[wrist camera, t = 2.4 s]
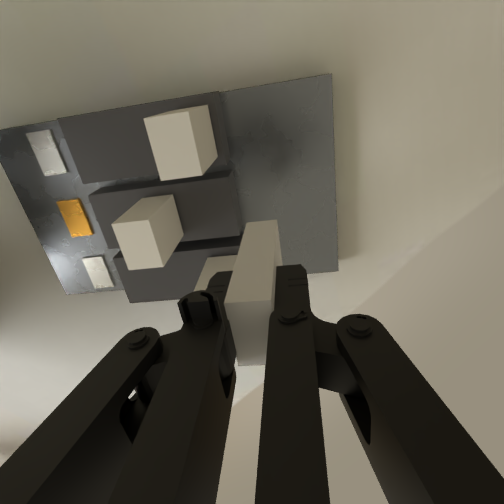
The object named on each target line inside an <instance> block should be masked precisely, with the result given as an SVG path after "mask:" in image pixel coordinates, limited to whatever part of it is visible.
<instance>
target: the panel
mask: <svg viewBox="0 0 504 504" xmlns="http://www.w3.org/2000/svg"><path fill="white" fill-rule="evenodd" d="M219 96H220V101H221V107H222V113H223V118H224V124H225V129H226V135H227V141H228V146H229V152H230V157H231V158H230V160H229V161H228V163H227V164H226V165H221V166H213V167H209V168H208V169H207V170H206V172H205V173H211V172H218V171H226V170H233V174H234V180H235V186H236V191H237V197H238V202H239V208H240V214H241V219H242V228H241V232H240V234H244V230H245V227H246V223H248V222H257V221H267V220H276V219H277V224H278V232H279V240H280V248H281V256H282V264H283V266H284V265H296V264H301V265H302V266H303V267H304V268H305V269H306V270H307V274H312V273H323V272H335V271H338V245H337V216H336V187H335V158H334V129H333V100H332V74H326V75H320V76H314V77H308V78H302V79H296V80H290V81H284V82H279V83H273V84H267V85H261V86H255V87H249V88H243V89H237V90H231V91H226V92H220V93H219ZM0 162H1V164H2V166H3V168H4V170H5V172H6V174H7V176H8V178H9V180H10V182H11V184H12V186H13V188H14V190H15V192H16V194H17V196H18V198H19V200H20V202H21V204H22V206H23V208H24V210H25V212H26V214H27V216H28V218H29V220H30V222H31V224H32V226H33V228H34V230H35V232H36V234H37V236H38V238H39V240H40V242H41V245H42V247H43V249H44V251H45V253H46V255H47V257H48V259H49V261H50V263H51V265H52V267H53V269H54V271H55V273H56V275H57V277H58V279H59V281H60V283H61V285H62V287H63V289H64V291H65V293H66V295H67V294H79V293H91V292H102V291H114V290H125V289H124V287H123V284H122V281H121V279H120V276H119V274H118V271H117V269H116V266H115V264H114V261H113V257H114V256H115V255H116V254H117V253H118V252H119V251H120V250H121V249H120V248H116V249H108V246H107V244H106V241H105V239H104V236H103V234H102V231H101V229H100V226H99V223H98V221H97V218H96V216H95V213H94V211H93V208H92V206H91V203H90V201H89V198H88V195H89V194H91V193H93V192H94V191H96V190H98V189H99V188H101V187H107V186H115V185H122V184H129V183H137V182H144V181H152V180H159V179H160V176H159V174H155V175H148V176H141V177H133V178H126V179H119V180H112V181H104V182H97V183H90V184H83V183H82V181H81V178H80V176H79V173H78V171H77V168H76V165H75V163H74V160H73V158H72V155H71V153H70V150H69V148H68V145H67V143H66V140H65V138H64V135H63V133H62V130H61V128H60V125H59V123H58V120H55V121H49V122H43V123H37V124H31V125H25V126H19V127H14V128H8V129H2V130H0Z"/></svg>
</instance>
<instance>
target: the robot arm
mask: <svg viewBox="0 0 504 504" xmlns="http://www.w3.org/2000/svg"><path fill="white" fill-rule="evenodd" d="M177 304H178V307H179V310H180V314H181V317H182V320H183V323H184V324H183V326H182V328H181V330H179V331H176V332H173V333H169V334H166V335H162V336H160V335H159V333H158V331H157V330H156V329H154V328H151V327H143V328H139V329H136V330H134V331H132V332H130V333H128V334H127V335H125V336H124V337H123V338H122V339H121V340H120V341H119V342H118V343H117V344H116V345H115V346H114V347H113V348H112V349H111V350H110V351H109V353H108V354H107V355H106V356H105V357H104V358H103V359H102V360H101V361H100V362H99V363H98V364H97V365H96V366H95V367H94V368H93V370H92V371H91V372H90V373H89V374H88V375H87V376H86V377H85V378H84V379H83V380H82V381H81V382H80V383H79V384H78V385H77V386H76V388H75V389H74V390H73V391H72V392H71V393H70V394H69V395H68V396H67V397H66V398H65V399H64V400H63V401H62V402H61V403H60V404H59V406H58V407H57V408H56V409H55V410H54V411H53V412H52V413H51V414H50V415H49V416H48V417H47V418H46V419H45V420H44V421H43V423H42V424H41V425H40V426H39V427H38V428H37V429H36V430H35V431H34V432H33V433H32V434H31V435H30V436H29V437H28V438H27V439H26V441H25V442H24V443H23V444H22V445H21V446H20V447H19V448H18V449H17V450H16V451H15V452H14V453H13V454H12V455H11V456H10V458H9V459H8V460H7V461H6V462H5V463H4V464H3V465H2V466H1V467H0V504H215V503H216V497H217V491H218V485H219V479H220V473H221V467H222V461H223V455H224V449H225V443H226V437H227V431H228V425H229V419H230V413H231V407H232V401H233V395H234V389H235V383H236V371H235V367H234V364H235V358H236V357H237V362H238V366H249V365H266V366H265V379H264V392H263V404H262V418H261V430H260V443H259V455H258V468H257V480H256V493H255V504H330V498H329V487H328V478H327V467H326V457H325V447H324V437H323V427H322V417H321V407H320V397H319V388H323V389H327V390H331V391H334V392H338V393H339V395H340V398H341V400H342V402H343V405H344V407H345V409H346V411H347V413H348V416H349V418H350V420H351V422H352V424H353V426H354V428H355V431H356V433H357V435H358V437H359V440H360V442H361V444H362V446H363V448H364V450H365V452H366V455H367V457H368V459H369V461H370V464H371V466H372V468H373V470H374V472H375V474H376V477H377V479H378V481H379V483H380V485H381V488H382V489H383V492H384V494H385V496H386V498H387V501H388V503H389V504H504V478H503V477H502V476H501V474H500V473H499V472H498V471H497V469H496V468H495V467H494V466H493V464H492V463H491V462H490V461H489V459H488V458H487V457H486V455H485V454H484V453H483V452H482V450H481V449H480V448H479V447H478V445H477V444H476V443H475V442H474V440H473V439H472V438H471V436H470V435H469V434H468V433H467V431H466V430H465V429H464V428H463V427H462V425H461V424H460V423H459V421H458V420H457V419H456V417H455V416H454V415H453V414H452V412H451V411H450V410H449V408H448V407H447V406H446V405H445V404H444V402H443V401H442V400H441V398H440V397H439V396H438V395H437V393H436V392H435V391H434V389H433V388H432V387H431V386H430V384H429V383H428V382H427V381H426V379H425V378H424V377H423V376H422V374H421V373H420V372H419V370H418V369H417V368H416V367H415V365H414V364H413V363H412V362H411V360H410V359H409V358H408V357H407V355H406V354H405V353H404V351H403V350H402V349H401V348H400V346H399V345H398V344H397V343H396V341H395V340H394V339H393V337H392V336H391V335H390V334H389V332H388V331H387V330H386V329H385V327H384V326H383V325H382V324H381V323H380V322H379V321H378V320H377V319H375V318H373V317H371V316H368V315H362V314H351V315H348V316H345V317H343V318H341V319H340V320H339V321H338V322H337V324H334V323H329V322H325V321H323V320H320V319H318V318H317V317H316V316H314V314H313V313H312V312H311V308H310V299H309V290H308V280H307V270H306V269H305V268H304V267H303V266H302V265H301V264H296V265H284V266H283V264H282V256H281V248H280V240H279V232H278V224H277V219H276V220H267V221H257V222H248V223H246V227H245V230H244V234H243V237H242V241H241V244H240V248H239V251H238V255H237V259H236V262H235V266H234V269H233V271H221V272H217V273H216V274H215V275H213V276H212V277H211V278H210V280H209V283H208V285H207V288H206V290H199V291H194V292H191V293H189V294H187V295H185V296H184V297H182V298H181V299H180V300H179V302H178V303H177ZM134 389H135V391H136V393H135V394H134V396H133V397H131V398H130V399H129V398H128V397H129V395H130V394H131V393H132V391H133V390H134Z"/></svg>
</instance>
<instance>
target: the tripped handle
mask: <svg viewBox="0 0 504 504" xmlns="http://www.w3.org/2000/svg"><path fill="white" fill-rule="evenodd" d="M111 225H112V227H113V230H114V233H115V235H116V238H117V241H118V243H119V246H120V249H121V251H122V254H123V257H124V259H125V262H126V264H127V267H128V270H137V269H148V268H158V267H164V266H165V264H166V262H167V261H168V259H169V258H170V256H171V254H172V253H173V251H174V250H175V248H176V246H177V245H178V243H179V242H180V240H181V239H182V237H183V235H184V233H183V230H182V226H181V222H180V219H179V215H178V211H177V208H176V204H175V200H174V197H173V194H171V195H163V196H155V197H147V198H142V199H140V200H139V201H138V202H137V203H136V204H134V205H133V206H132V207H131V208H130V209H129V210H127V211H126V212H125V213H124V214H123V215H122V216H120V217H119V218H118V219H117V220H116V221H114V222H113V223H112V224H111Z"/></svg>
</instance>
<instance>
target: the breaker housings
mask: <svg viewBox="0 0 504 504" xmlns="http://www.w3.org/2000/svg"><path fill="white" fill-rule="evenodd" d="M57 120H58V123H59V125H60V128H61V130H62V133H63V135H64V138H65V140H66V143H67V145H68V148H69V150H70V153H71V155H72V158H73V160H74V163H75V165H76V168H77V171H78V173H79V176H80V178H81V181H82V183H83V184H90V183H97V182H104V181H112V180H119V179H126V178H133V177H141V176H148V175H155V174H159V176H160V179H159V180H152V181H144V182H137V183H129V184H122V185H115V186H107V187H101V188H99V189H98V190H96V191H94V192H93V193H91V194H89V195H88V198H89V201H90V203H91V206H92V208H93V211H94V213H95V216H96V218H97V221H98V223H99V226H100V229H101V231H102V234H103V236H104V239H105V241H106V244H107V246H108V249H116V248H120V246H119V243H118V241H117V238H116V235H115V233H114V230H113V227H112V225H111V224H112V223H113V222H114V221H116V220H117V219H118V218H119V217H120V216H122V215H123V214H124V213H125V212H126V211H127V210H129V209H130V208H131V207H132V206H133V205H134V204H136V203H137V202H138V201H139V200H140V199H142V198H147V197H155V196H163V195H171V194H173V197H174V200H175V204H176V208H177V211H178V215H179V219H180V222H181V226H182V230H183V233H184V235H183V237H182V239H181V240H180V242H179V243H178V245H177V246H176V248H175V250H174V251H173V253H172V254H171V256H170V258H169V259H168V261H167V262H166V264H165V266H164V267H158V268H148V269H137V270H128V267H127V264H126V262H125V259H124V257H123V254H122V251H121V250H120V251H119V252H118V253H117V254H116V255H115V256H114V257H113V261H114V264H115V266H116V269H117V271H118V274H119V276H120V279H121V281H122V284H123V287H124V289H125V292H126V294H127V297H128V299H129V302H130V303H138V302H151V301H164V300H176V299H181V298H182V297H184V296H185V295H187V294H189V293H191V292H194V291H199V290H206V288H207V285H208V283H209V280H210V278H211V277H212V276H213V275H215V274H216V273H217V272H221V271H233V269H234V266H235V262H236V259H237V255H238V251H239V248H240V244H241V241H242V237H243V234H240V232H241V228H242V219H241V214H240V208H239V202H238V197H237V191H236V186H235V180H234V174H233V170H226V171H218V172H211V173H205V172H206V170H207V169H208V168H209V167H213V166H221V165H226V164H227V163H228V161H229V160H230V158H231V157H230V152H229V146H228V141H227V135H226V129H225V124H224V118H223V113H222V107H221V101H220V96H219V91H216V92H210V93H204V94H198V95H192V96H186V97H181V98H175V99H169V100H163V101H157V102H151V103H145V104H140V105H134V106H128V107H122V108H116V109H110V110H104V111H99V112H93V113H87V114H81V115H75V116H69V117H63V118H58V119H57Z"/></svg>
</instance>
